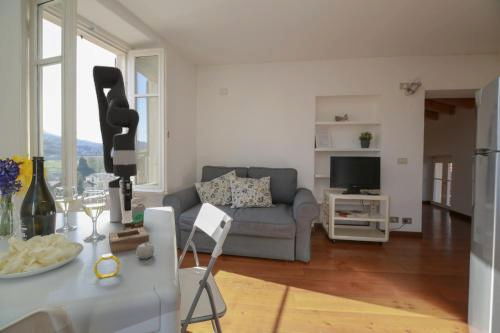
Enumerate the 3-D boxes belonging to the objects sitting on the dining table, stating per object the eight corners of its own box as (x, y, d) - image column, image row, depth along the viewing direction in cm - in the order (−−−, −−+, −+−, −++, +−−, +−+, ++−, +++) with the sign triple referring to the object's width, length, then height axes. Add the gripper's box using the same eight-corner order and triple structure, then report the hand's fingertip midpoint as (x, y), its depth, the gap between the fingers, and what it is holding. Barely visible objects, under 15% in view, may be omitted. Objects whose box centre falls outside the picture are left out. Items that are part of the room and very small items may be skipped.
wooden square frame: (109, 243, 92) (108, 232, 92) (143, 236, 98) (142, 226, 98) (111, 253, 82) (111, 242, 82) (149, 245, 88) (148, 234, 88)
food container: (134, 232, 103) (133, 209, 103) (122, 232, 105) (121, 209, 104) (151, 224, 115) (151, 203, 115) (140, 224, 117) (139, 203, 116)
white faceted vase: (124, 224, 86) (123, 182, 86) (118, 222, 89) (116, 182, 88) (136, 221, 90) (135, 181, 89) (129, 219, 92) (128, 180, 92)
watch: (120, 273, 69) (120, 252, 69) (118, 277, 66) (119, 256, 66) (95, 275, 67) (96, 254, 66) (93, 280, 64) (93, 258, 64)
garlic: (159, 255, 79) (158, 240, 79) (145, 262, 75) (144, 245, 74) (146, 252, 82) (145, 237, 82) (132, 259, 77) (131, 243, 77)
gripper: (111, 163, 92) (113, 207, 93) (115, 163, 81) (117, 214, 81) (133, 162, 97) (135, 204, 97) (139, 163, 85) (141, 211, 85)
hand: (127, 209), depth 89 cm, fingers closed on white faceted vase, 4 cm apart
